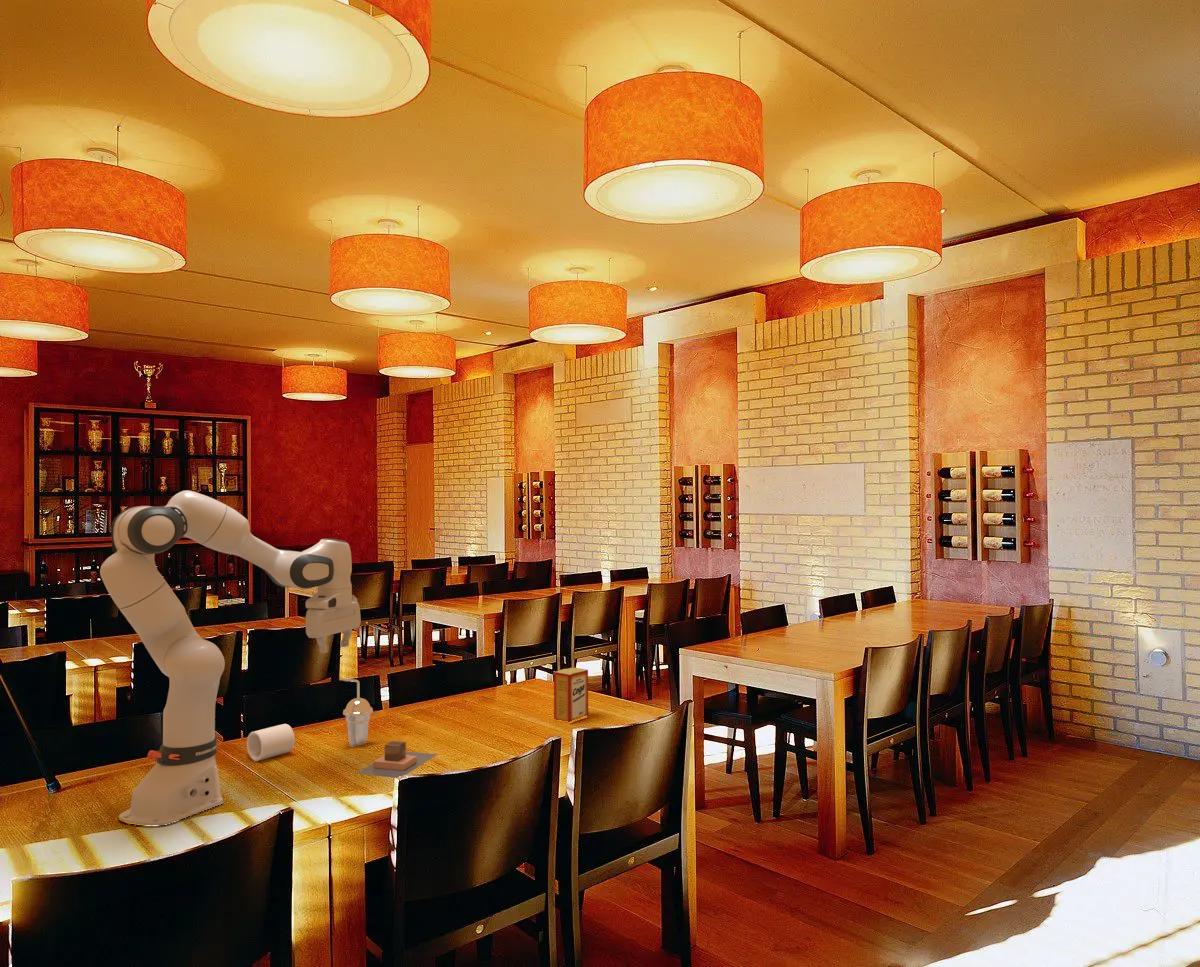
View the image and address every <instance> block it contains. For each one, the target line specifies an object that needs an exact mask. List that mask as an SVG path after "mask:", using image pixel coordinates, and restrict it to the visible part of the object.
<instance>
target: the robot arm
mask: <svg viewBox="0 0 1200 967" xmlns="http://www.w3.org/2000/svg"><path fill="white" fill-rule="evenodd" d="M110 533H111V534H110V536H111V551H112V552H113V554H111V555H110V556H108V557H107V558H106V559H105V560H104V561H103V562H102V564H101V566H100V569H99V575H100V578H101V580H102V582H103V584H104V586H105V588H106V591H107V592H108V594H109V596H110V597H111V599H112V601H113V603H114V604H115V605H116V606H117V608H118V609H119V611H120V613H121V614H122V615H123V616H124V618H125V619H126V621H127V622H128V623H129V624H130V626H131V627H132V628H133V630H134V631H135V633H136V634H137V635H138V637H139V639H140V640H141V641H142V644H143V645H144V647H145V649H146V650H147V652H148V654H149V655H150V657H151V658H152V660H153V661H154V663H155V664H156V666H157V667H158V669H159V670H160V671H161V673H162V674H163V675H165V676H166V677H168V680H169V685H168V686H169V688H168V692H167V699H166V704H165V707H164V708H163V712H162V743H161V745H160V748H159V750H152V749H151V750H149V751H148V753H147V759H148V760H154V761H156V763H155V764H154V765H153V767H152V768H151V770H149V772H148V773H146V775H145V776H144V777H143V779H142V780H141V781H140V782H139V783H138V785H136V787H135V788H134V789H133V792H132V794H131V795H132V796H131V799H130V800H131V801H130V808H128V809H127V810H125V811H123V812H121V813H120V814H119V815H118V817H119V818H121V819H122V820H124V821H127V822H130V823H136V824H143V825H165V824H169V823H172V822H174V821H177V820H180V819H183V818H185V819H187V818H186V817H188V816H190V815H192V814H196V813H198V812H201V811H203V812H205V811H204V810H206V811H208V810H207V809H209V810H211V809H213V808H212V807H214V808H216V807H215V806H217V807H219V806H222V805H223V804H224V798H223V794H222V791H221V787H220V785H221V784H220V777H219V769H218V765H217V761H216V754H217V751H218V744H217V737H216V736H215V732H216V730H215V729H216V720H215V719H216V703H217V702H216V701H217V697H218V696H217V695H218V691H219V686H220V680H221V676H222V675H223V673H224V671H225V667H226V666H225V664H226V662H225V657H224V655H223V653H222V651H221V650H220V648H219V647H218V646H217V645H216V644H215V643H214V642H211V641H209V640H206V639H204V638H203V637H202V636H200V635H199V633H198V632H197V631H196V629H195V627H194V625H193V624H192V621H191V620H190V618H189V616H188V614H187V612H186V608H185V606H184V605H183V604H182V602H181V601H180V599H179V598H178V596H177V595H176V594H175V593H174V591H173V589H172V587H170V585H169V584H168V582H167V581H166V579H165V578H164V576H162V574H161V573H160V572H159V570H158V567H157V566H156V561H155V555H156V554H160V553H163V552H165V551H168V550H169V549H171V548H172V547H173V546H174V545H175V544H176V543H178V541H179V540H180V539H181V538H183V537H184V538H188V539H190V540H192V541H194V542H196V543H198V544H199V545H201V546H204V547H205V548H207V549H211V550H213V551H216V552H219V553H223V554H227V555H233V556H234V555H235V556H237V557H240V558H241V559H242V560H244V561H247V562H249V563H251V564H253V565H255V566H256V567H258V568H259V569H261V570H263V571H264V572H265V573H266V574H267V576H268V578H270V579H271V581H272V582H273V583H275V585H277V586H280V587H281V588H294V589H299V590H300V589H302V590H309V589H313V588H316V587H317V592H316V593H314V594H313V595H312V596H311V597H309V598H308V599H306V601H305V608H306V609H307V610H306V614H305V634H306V636H307V637H308V638H309V639H316V642H317V645H318V647H319V653H320V654H326V653H329V651H330V649H329V648H330V645H328V644H327V642H326V641H327V639H328V638H327V637H329V636H331V635H335V634H338V633H342V634H343V635H342V639H341V640H340V647H341V648H347V647H349V646H350V640H351V636H352V634H353V630H354V629H358V628H360V626H361V622H362V619H361V616H362V615H361V608H360V604H359V602H358V598H357V597H356V596H355V595H354V594H352V593H353V589H352V588H353V585H352V581H351V576H352V571H353V568H352V566H353V564H352V562H353V561H352V551H351V547H350V544H349V543H348V542H347V541H345V540H343V539H336V538H325V537H324V538H321V539H320V540H319V542H317V543H316V544H314V545H313V546H311V547H308V548H307V549H304V550H302V551H296V550H291V549H278V548H276V547H274V546H272V545H271V544H269V543H267V542H266V541H263V540H261V539H260V538H259V537H256V536H254V534H252V532H251V526H250V522H249V520H248V519H247V518H246V517H245V516H244V515H243V514H241V513H240V512H239V511H237V510H236V509H234V508H232V507H231V506H229V505H227V504H225V503H224V502H221V501H219V500H218V499H215V498H213V497H210V496H208V495H205V494H202V493H199V492H196V491H192V490H188V489H187V490H182V491H179V492H178V493H175V495H173V496H171V498H170V499H169V500H168V502H167V504H166V505H165V506H150V505H140V506H133V507H129V508H125V509H124V510H122V511H121V512H120V513H118V514H117V515H116V516H115V517H114V519H113V521H112V523H111V530H110ZM221 804H222V805H221ZM218 805H219V806H218ZM210 808H211V809H210ZM201 813H202V812H201ZM198 814H199V813H198ZM196 815H197V814H196ZM190 817H191V816H190ZM188 818H189V817H188ZM183 820H184V819H183ZM180 821H181V820H180ZM177 822H178V821H177ZM172 824H173V823H172ZM169 825H170V824H169Z"/></svg>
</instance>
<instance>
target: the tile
mask: <svg viewBox="0 0 1200 967" xmlns="http://www.w3.org/2000/svg"><path fill="white" fill-rule="evenodd" d="M416 762H417V756H411V755H406V757H405V758H403V759H402V760H400V761H398V762H397V761H387V760H385V754H383V755H382V756H380V757H378V758H376V759H374V760H373V761H372V764H373V767H374V768H382V769H392V770H402V771H403V770H405V769H407V768H408V767H410V766H411V765H413V764H415V763H416Z"/></svg>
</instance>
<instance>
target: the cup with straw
mask: <svg viewBox="0 0 1200 967" xmlns="http://www.w3.org/2000/svg"><path fill="white" fill-rule="evenodd" d="M339 681H343V682H350V683H351V682H353V683H356V698H355V697H354V698H353V699H351V700H349V702H348V703H347V704H346V707H345V709H343V710H342V711H343V712H342V714H343V716H345V721H346V722H345V723H346V724H347V725H346V726H347V733H348V743H349V748H350V747H353V748H355V747H356V746H357V747H358V746H363V745H365V744H367V742H368V730H369V724H370V718H371V714H372V713H374V709H373V707H372V706H371V705H370V703H369V701H368V700H367V699H366V698H362V697H360V693H361V692H360V691H361V690H360V681H359V680H358V679H353V678H343V677H339Z"/></svg>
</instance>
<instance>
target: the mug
mask: <svg viewBox="0 0 1200 967" xmlns="http://www.w3.org/2000/svg"><path fill="white" fill-rule="evenodd" d="M295 742H296V737H295V733H294V731H293V728H292V726H290V725H289V724H287V723H283V724H282V723H281V724H278V725H274V726H269V727H266V728H262V729H259V730H255V731H251V732H250V733H249V734H248V736H247V739H246V749H247V750H246V751H247V753H248V756H249V757H250V759H251V760H253V761H254V762H259V761H263V760H266V759H269V758H270V759H271V758H273V757H277V756H281V755H284V754H287V753H291V752H292V751H293V749H294V747H295Z"/></svg>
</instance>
